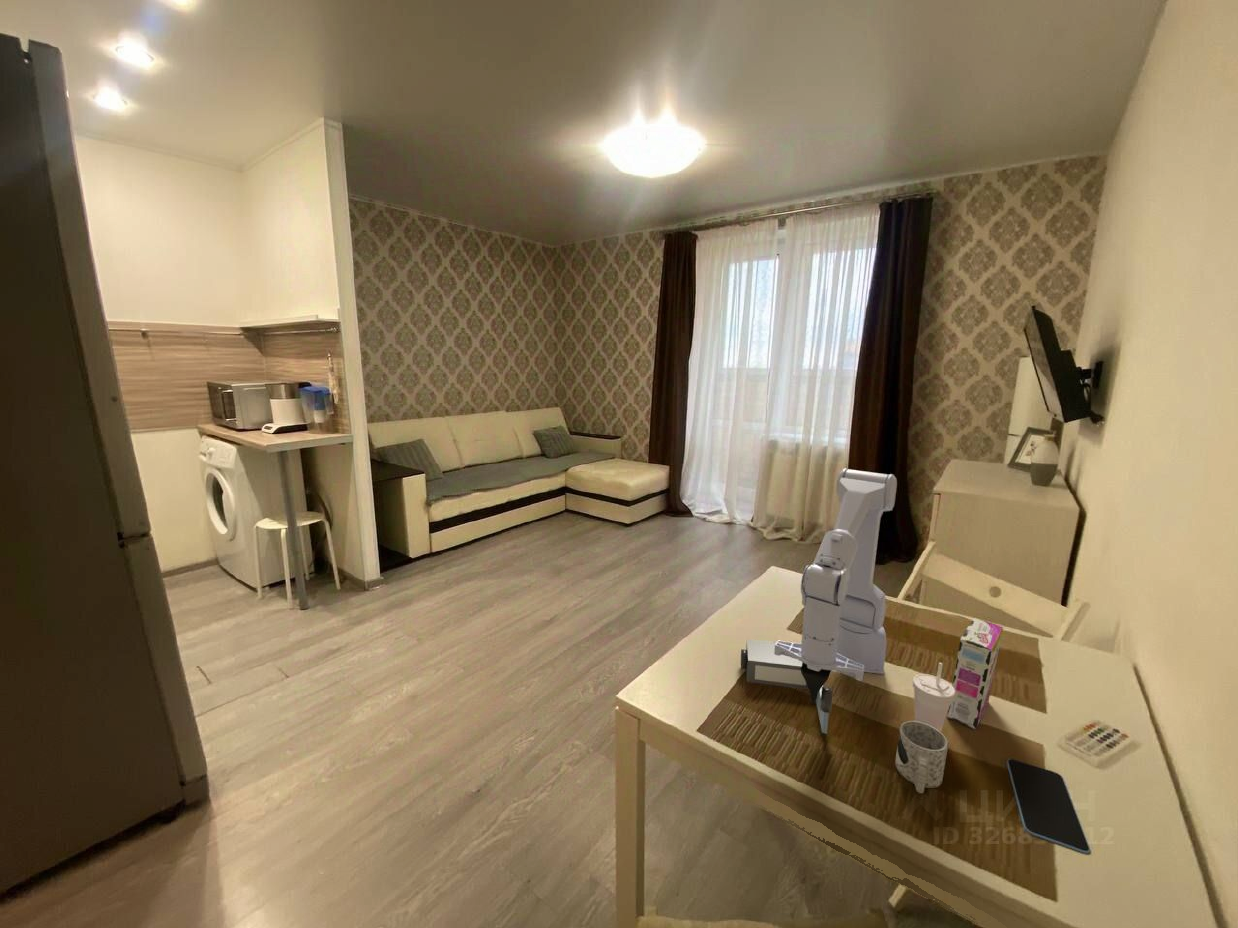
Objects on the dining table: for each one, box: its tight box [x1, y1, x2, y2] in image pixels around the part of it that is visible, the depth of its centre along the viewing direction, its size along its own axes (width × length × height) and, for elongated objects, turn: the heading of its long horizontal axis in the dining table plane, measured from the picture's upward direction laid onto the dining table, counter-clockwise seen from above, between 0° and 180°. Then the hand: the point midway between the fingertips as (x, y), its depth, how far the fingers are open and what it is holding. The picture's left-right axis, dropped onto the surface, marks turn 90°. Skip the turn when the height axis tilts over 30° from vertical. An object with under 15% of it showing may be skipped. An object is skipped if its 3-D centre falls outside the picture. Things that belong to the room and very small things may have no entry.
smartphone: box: [1006, 758, 1091, 854], centre depth 75 cm, size 7×1×15 cm
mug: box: [895, 720, 949, 794], centre depth 79 cm, size 10×7×7 cm
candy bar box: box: [946, 617, 1004, 730], centre depth 93 cm, size 11×5×16 cm, turn 135°
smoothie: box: [911, 662, 955, 733], centre depth 88 cm, size 6×6×14 cm
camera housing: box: [740, 638, 809, 691], centre depth 105 cm, size 15×8×5 cm, turn 78°
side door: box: [815, 685, 834, 735], centre depth 94 cm, size 12×2×8 cm, turn 166°
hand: (814, 700), depth 89 cm, fingers closed
